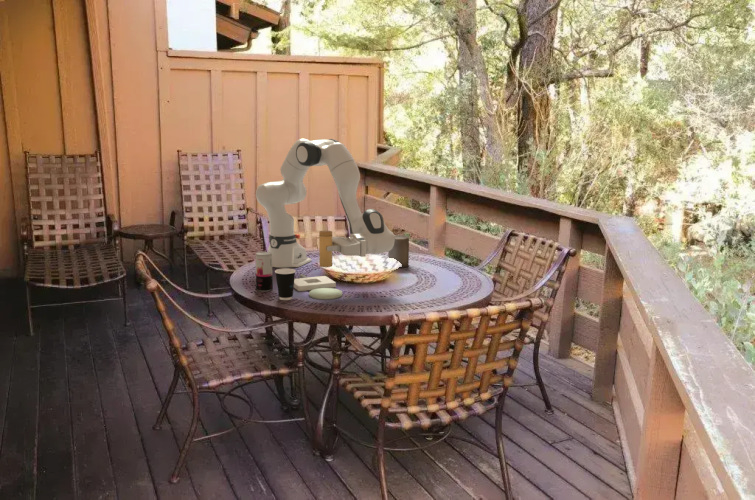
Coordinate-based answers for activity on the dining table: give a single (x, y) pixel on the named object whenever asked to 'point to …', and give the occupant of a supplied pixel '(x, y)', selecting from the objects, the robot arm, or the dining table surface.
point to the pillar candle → (400, 250)
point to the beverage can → (264, 271)
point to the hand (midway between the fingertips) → (323, 247)
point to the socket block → (313, 283)
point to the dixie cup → (285, 283)
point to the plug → (325, 255)
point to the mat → (325, 293)
